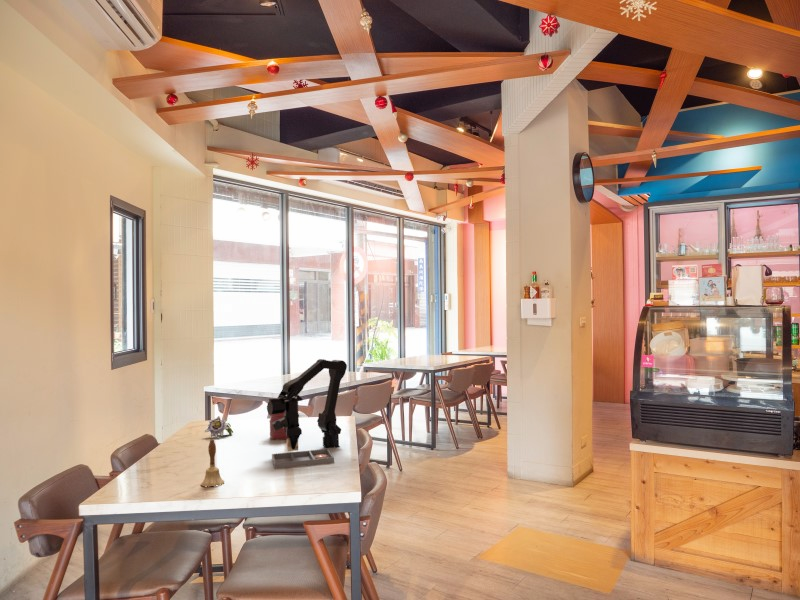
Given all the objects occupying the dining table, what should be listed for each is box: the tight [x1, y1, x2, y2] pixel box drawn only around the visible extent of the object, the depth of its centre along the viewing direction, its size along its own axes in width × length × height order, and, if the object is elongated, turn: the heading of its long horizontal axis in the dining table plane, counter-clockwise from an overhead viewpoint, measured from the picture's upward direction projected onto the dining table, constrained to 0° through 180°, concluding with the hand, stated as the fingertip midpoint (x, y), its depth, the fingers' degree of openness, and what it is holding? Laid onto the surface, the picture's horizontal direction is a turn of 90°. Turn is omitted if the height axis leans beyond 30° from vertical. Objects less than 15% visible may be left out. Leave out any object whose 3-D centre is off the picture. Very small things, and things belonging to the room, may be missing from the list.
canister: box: [269, 411, 289, 440], centre depth 288 cm, size 13×13×18 cm
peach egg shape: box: [315, 454, 327, 459], centre depth 240 cm, size 5×5×1 cm
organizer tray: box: [271, 448, 335, 470], centre depth 238 cm, size 23×16×2 cm
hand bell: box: [200, 439, 225, 487], centre depth 211 cm, size 8×8×16 cm
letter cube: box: [286, 438, 299, 452], centre depth 252 cm, size 4×4×5 cm
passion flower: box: [204, 415, 234, 439], centre depth 296 cm, size 11×11×12 cm
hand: (292, 447), depth 252 cm, fingers closed on letter cube, 4 cm apart
